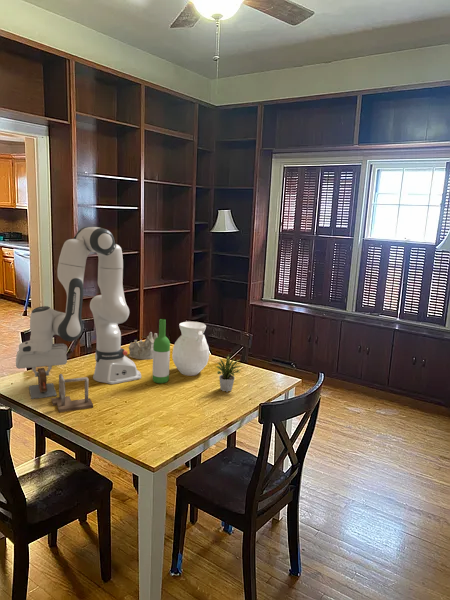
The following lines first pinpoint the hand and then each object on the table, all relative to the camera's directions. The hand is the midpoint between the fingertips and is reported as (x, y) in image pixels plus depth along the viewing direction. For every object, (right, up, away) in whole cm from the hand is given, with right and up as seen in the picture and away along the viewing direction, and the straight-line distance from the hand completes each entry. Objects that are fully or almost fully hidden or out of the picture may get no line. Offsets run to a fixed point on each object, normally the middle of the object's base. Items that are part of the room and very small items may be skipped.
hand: (42, 375), depth 193 cm
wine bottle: (+48, -6, +21) cm, 53 cm away
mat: (0, -7, +1) cm, 7 cm away
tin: (0, -6, +1) cm, 6 cm away
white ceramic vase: (+61, -4, +35) cm, 71 cm away
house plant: (+79, -9, +14) cm, 80 cm away
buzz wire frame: (+17, -10, -10) cm, 22 cm away
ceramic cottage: (+34, +1, +59) cm, 68 cm away
